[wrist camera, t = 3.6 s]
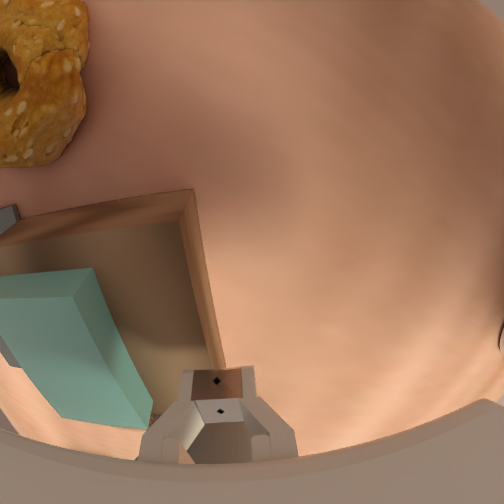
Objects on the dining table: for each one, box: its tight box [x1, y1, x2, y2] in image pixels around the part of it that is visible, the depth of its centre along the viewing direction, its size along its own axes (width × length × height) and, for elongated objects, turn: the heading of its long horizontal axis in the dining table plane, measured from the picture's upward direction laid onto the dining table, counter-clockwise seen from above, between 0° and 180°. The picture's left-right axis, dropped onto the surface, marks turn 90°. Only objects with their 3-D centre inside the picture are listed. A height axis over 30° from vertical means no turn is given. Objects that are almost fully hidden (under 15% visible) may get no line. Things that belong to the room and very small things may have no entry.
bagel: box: [0, 0, 90, 168], centre depth 8 cm, size 10×11×5 cm
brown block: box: [0, 189, 226, 414], centre depth 15 cm, size 11×12×4 cm
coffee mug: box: [135, 414, 255, 464], centre depth 19 cm, size 13×10×10 cm
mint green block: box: [0, 268, 153, 429], centre depth 12 cm, size 6×9×2 cm, turn 4°
